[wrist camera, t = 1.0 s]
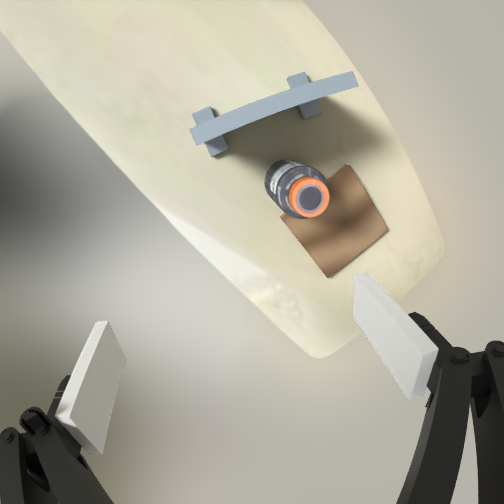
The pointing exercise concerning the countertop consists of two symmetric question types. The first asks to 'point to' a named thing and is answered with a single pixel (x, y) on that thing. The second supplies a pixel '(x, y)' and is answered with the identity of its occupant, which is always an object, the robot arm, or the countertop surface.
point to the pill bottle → (297, 189)
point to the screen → (268, 108)
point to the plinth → (339, 224)
